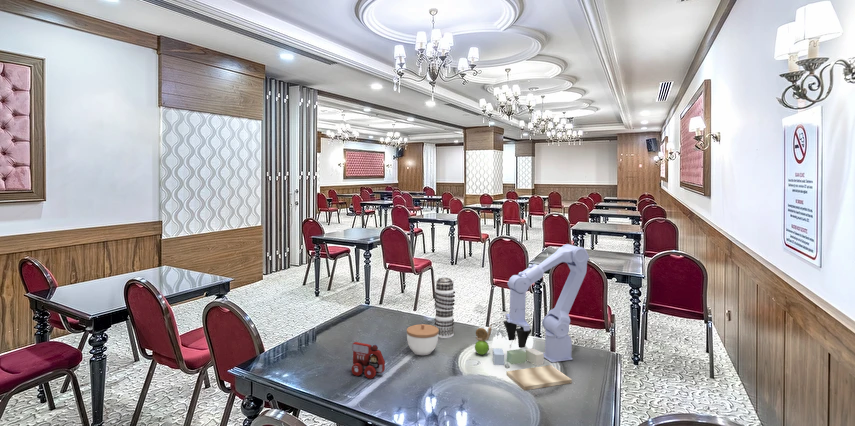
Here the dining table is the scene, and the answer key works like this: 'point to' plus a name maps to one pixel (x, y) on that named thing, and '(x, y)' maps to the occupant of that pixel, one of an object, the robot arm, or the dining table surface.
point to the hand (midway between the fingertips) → (516, 343)
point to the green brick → (516, 356)
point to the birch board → (538, 377)
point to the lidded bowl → (422, 338)
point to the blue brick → (498, 356)
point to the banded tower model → (444, 307)
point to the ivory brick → (534, 356)
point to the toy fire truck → (367, 360)
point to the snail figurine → (482, 340)
